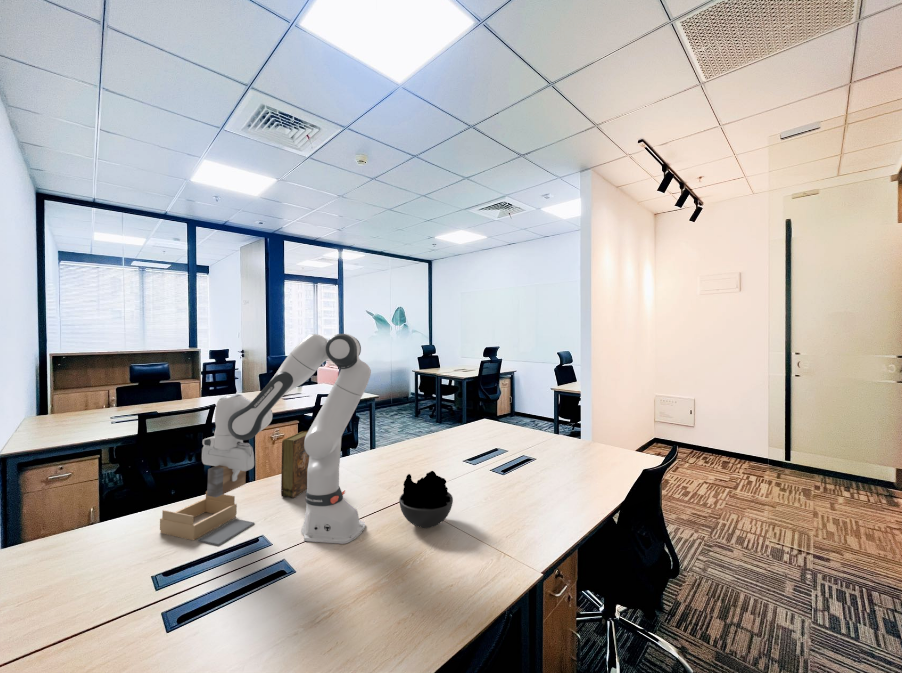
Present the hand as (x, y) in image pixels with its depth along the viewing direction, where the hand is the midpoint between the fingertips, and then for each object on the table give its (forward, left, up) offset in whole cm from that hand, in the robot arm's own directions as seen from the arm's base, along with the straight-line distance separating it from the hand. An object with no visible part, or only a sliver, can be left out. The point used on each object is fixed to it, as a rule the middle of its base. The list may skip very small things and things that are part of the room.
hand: (227, 479), depth 131 cm
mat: (0, 0, -19) cm, 19 cm away
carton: (+14, -1, -19) cm, 23 cm away
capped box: (0, 0, -4) cm, 4 cm away
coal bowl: (-65, -27, -19) cm, 73 cm away
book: (0, -37, -19) cm, 42 cm away
